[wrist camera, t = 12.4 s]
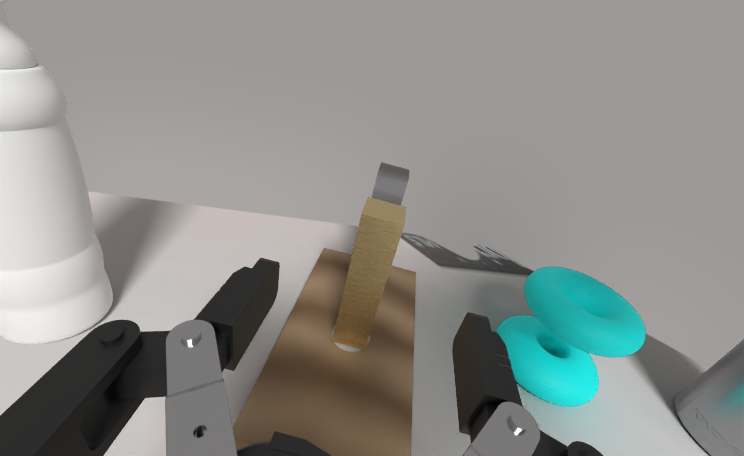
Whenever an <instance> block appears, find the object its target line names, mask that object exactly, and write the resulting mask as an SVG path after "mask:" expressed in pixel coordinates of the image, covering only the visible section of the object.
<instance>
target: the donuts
mask: <svg viewBox="0 0 744 456" xmlns="http://www.w3.org/2000/svg"><path fill="white" fill-rule="evenodd" d="M524 293H525V298H526V301H527V304H528V306H529V308H530V309H531V311H532V312H533V314H534V315H535V316H529V315H518V316H513V317H510V318H508V319H506V320H504V321H503V322H502V323H501V324H500V325H499V327H498V329H497V331H496V333H498V334H499V335H500V337H501V338H502V340H503V341H504V343H505V344H506V347H507V351H508V355H509V359H510V362H511V366H512V367H511V369H512V370H513V373H514V377H515V380H516V381H517V382H518V383H519V384H520V385H521V386H522V387H524V388H525V389H526V390H528V391H529V392H530V393H532V394H534V395H535V396H537V397H539V398H541V399H543V400H545V401H547V402H550V403H553V404H556V405H560V406H569V407H571V406H580V405H583V404H585V403H587V402H589V401H590V400H591V399H592V398H593V397H594V396H595V394H596V392H597V390H598V385H599V376H598V372H597V368H596V365H595V363H594V361H593V359H592V358H591V356H590V354H589V353H591V354H594V355H598V356H603V357H624V356H628V355H631V354H633V353H635V352H637V351H638V350H639V349H640V348H641V347H642V345H643V344H644V341H645V337H646V331H645V326H644V323H643V321H642V319H641V317H640V316H639V314H638V313H637V312H636V310H635V309H634V308H633V307H632V306H631V305H630V304H629V303H628V302H627V301H626V300H625V299H624V298H623V297H622V296H620V295H619V294H618V293H616V292H615V291H614V290H612V289H611V288H609V287H607V286H606V285H605V284H603V283H601V282H599V281H597V280H596V279H593V278H592V277H590V276H587V275H585V274H583V273H580V272H577V271H574V270H570V269H566V268H562V267H544V268H540V269H538V270H536V271H534V272H533V273H531V274H530V275H529V277H528V278H527V280H526V283H525V287H524Z"/></svg>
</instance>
